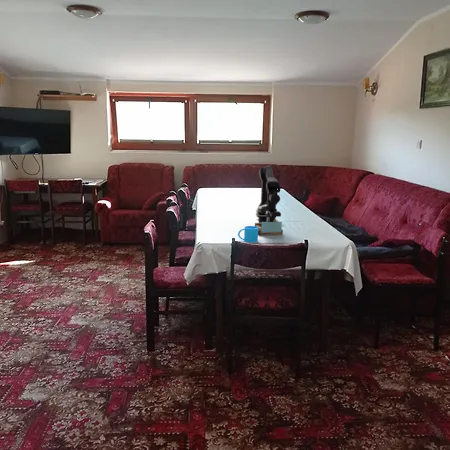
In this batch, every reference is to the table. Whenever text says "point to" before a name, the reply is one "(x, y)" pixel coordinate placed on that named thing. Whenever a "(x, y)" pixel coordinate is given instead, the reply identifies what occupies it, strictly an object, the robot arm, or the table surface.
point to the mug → (250, 234)
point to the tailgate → (271, 227)
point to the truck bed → (266, 233)
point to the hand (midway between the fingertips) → (270, 225)
